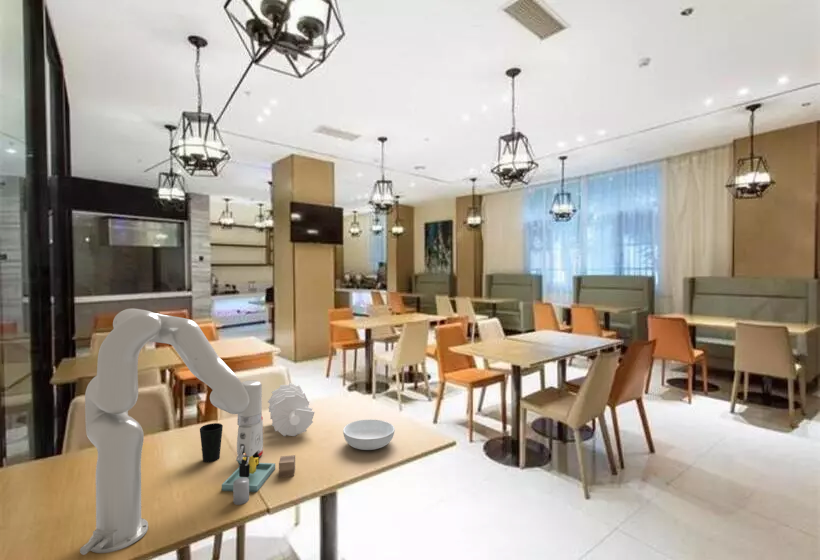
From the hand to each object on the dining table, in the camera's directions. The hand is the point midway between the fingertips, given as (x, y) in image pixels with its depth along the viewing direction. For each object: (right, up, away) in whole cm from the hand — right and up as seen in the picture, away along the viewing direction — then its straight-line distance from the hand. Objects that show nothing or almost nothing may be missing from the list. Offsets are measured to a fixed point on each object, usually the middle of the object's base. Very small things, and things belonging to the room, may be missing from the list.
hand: (249, 470), depth 131 cm
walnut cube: (+11, -3, +5) cm, 13 cm away
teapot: (0, -1, 0) cm, 1 cm away
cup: (-20, -3, +14) cm, 25 cm away
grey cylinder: (+2, -3, -12) cm, 13 cm away
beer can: (-5, -3, +16) cm, 18 cm away
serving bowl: (+38, -3, +27) cm, 47 cm away
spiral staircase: (0, -3, +43) cm, 43 cm away
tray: (0, -3, 0) cm, 3 cm away
